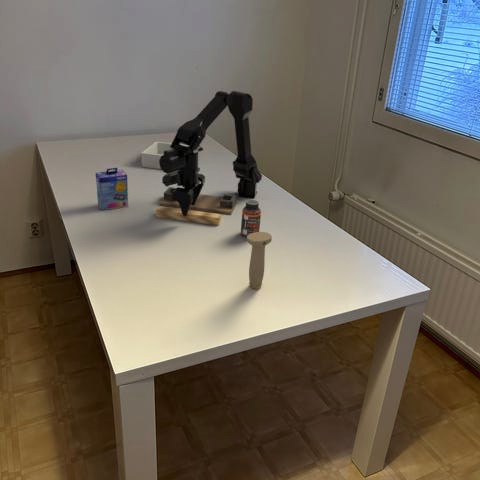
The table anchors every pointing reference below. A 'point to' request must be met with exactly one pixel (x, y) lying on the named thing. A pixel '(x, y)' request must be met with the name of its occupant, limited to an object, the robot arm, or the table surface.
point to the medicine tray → (155, 154)
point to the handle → (257, 257)
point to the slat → (188, 215)
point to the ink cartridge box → (112, 189)
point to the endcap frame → (205, 202)
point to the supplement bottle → (250, 218)
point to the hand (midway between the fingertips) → (188, 210)
